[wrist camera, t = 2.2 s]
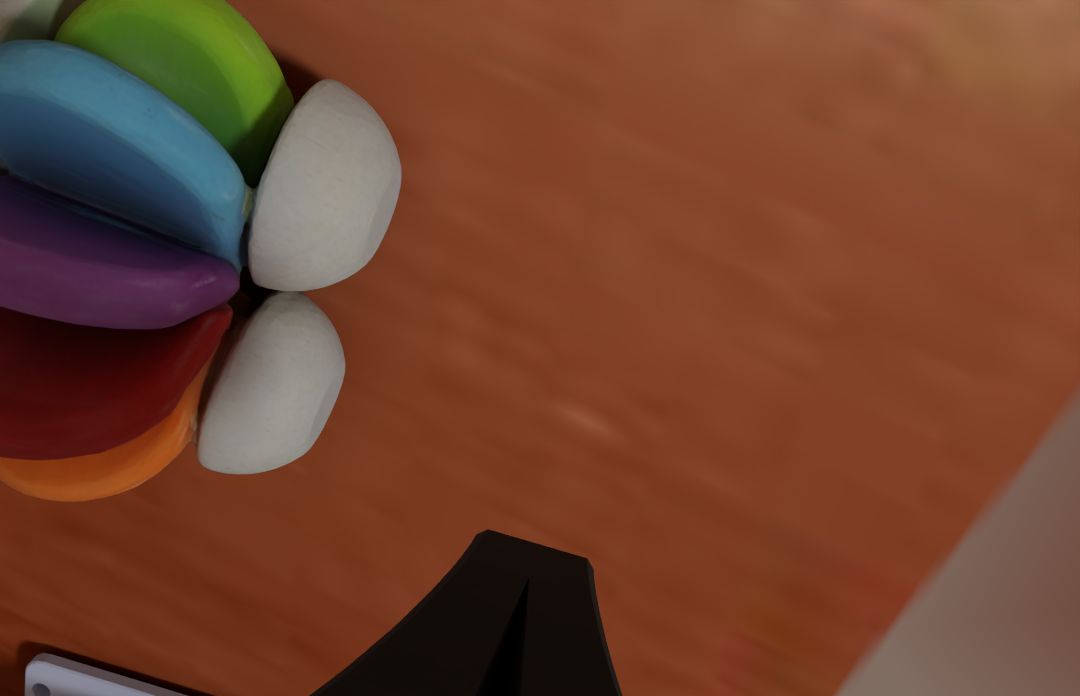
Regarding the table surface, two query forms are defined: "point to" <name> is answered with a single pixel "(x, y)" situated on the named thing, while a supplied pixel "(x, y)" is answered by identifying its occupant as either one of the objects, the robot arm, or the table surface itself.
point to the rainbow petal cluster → (169, 242)
